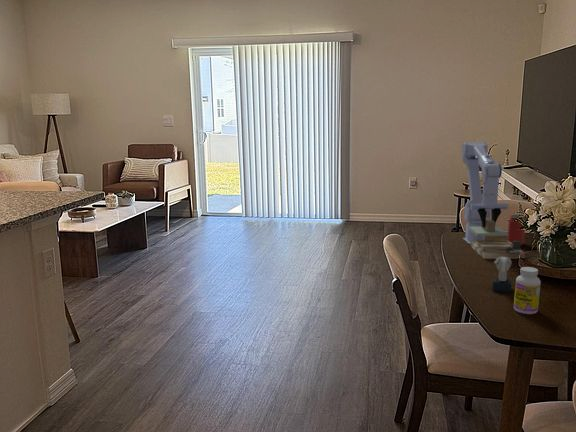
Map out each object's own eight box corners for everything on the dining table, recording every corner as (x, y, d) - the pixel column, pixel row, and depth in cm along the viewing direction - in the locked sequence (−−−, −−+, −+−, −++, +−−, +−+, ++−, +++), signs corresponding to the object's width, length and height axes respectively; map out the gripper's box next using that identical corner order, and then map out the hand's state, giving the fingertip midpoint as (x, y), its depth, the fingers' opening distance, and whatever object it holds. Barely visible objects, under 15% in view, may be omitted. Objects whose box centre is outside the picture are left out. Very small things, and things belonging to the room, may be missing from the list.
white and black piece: (510, 286, 181) (512, 254, 178) (510, 294, 173) (513, 261, 171) (492, 284, 183) (494, 253, 180) (492, 292, 175) (494, 260, 173)
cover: (468, 228, 226) (469, 217, 225) (497, 228, 225) (498, 217, 224) (477, 235, 214) (477, 223, 213) (508, 235, 213) (508, 223, 212)
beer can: (520, 241, 235) (523, 214, 233) (525, 245, 229) (528, 218, 226) (505, 241, 236) (507, 214, 233) (509, 245, 230) (511, 218, 227)
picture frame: (470, 246, 230) (471, 237, 229) (509, 246, 229) (509, 237, 228) (483, 258, 212) (484, 248, 211) (525, 258, 211) (526, 248, 210)
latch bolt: (509, 248, 213) (509, 238, 212) (515, 248, 213) (516, 238, 212) (513, 252, 208) (514, 241, 207) (520, 252, 208) (520, 241, 207)
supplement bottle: (509, 310, 160) (512, 269, 158) (519, 304, 165) (522, 264, 162) (532, 316, 156) (536, 274, 153) (541, 310, 160) (545, 269, 158)
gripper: (474, 195, 213) (472, 229, 216) (512, 195, 212) (509, 229, 215) (469, 192, 220) (467, 225, 222) (505, 192, 219) (503, 225, 222)
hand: (488, 226), depth 219 cm, fingers closed on cover, 3 cm apart
